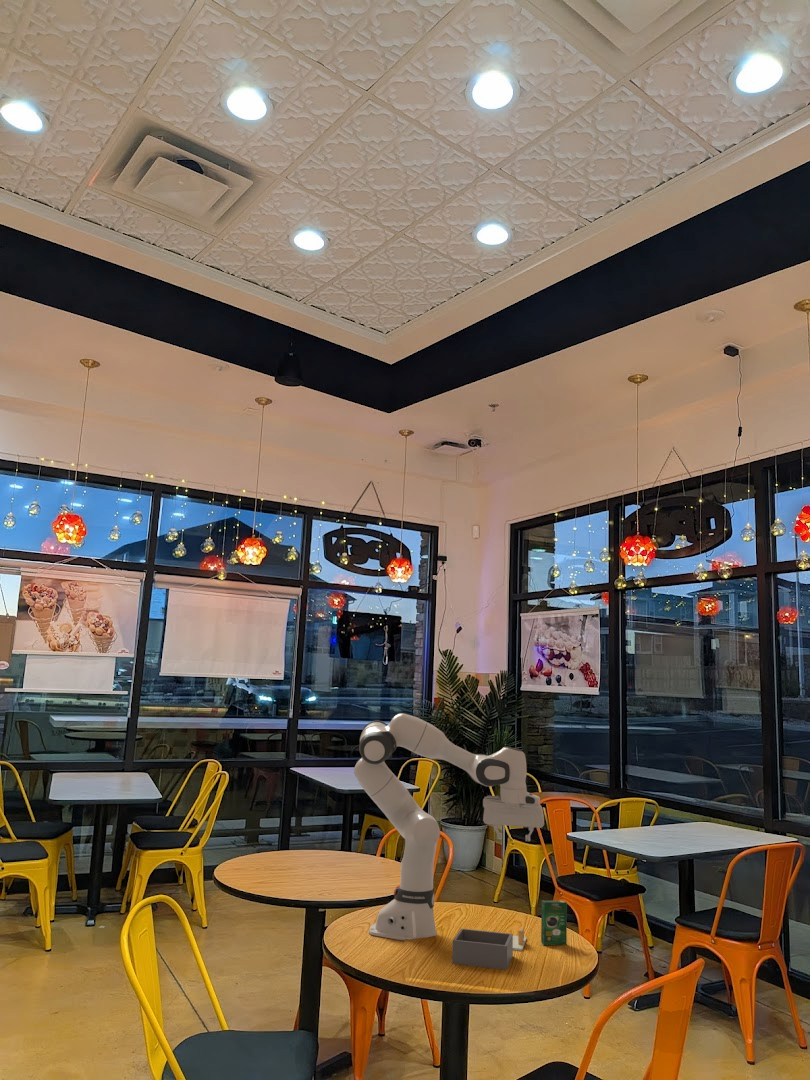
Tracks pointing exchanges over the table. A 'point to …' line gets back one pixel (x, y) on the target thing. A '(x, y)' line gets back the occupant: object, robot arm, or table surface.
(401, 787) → the robot arm
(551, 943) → the coffee box
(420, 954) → the table surface
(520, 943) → the lid
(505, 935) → the tub
